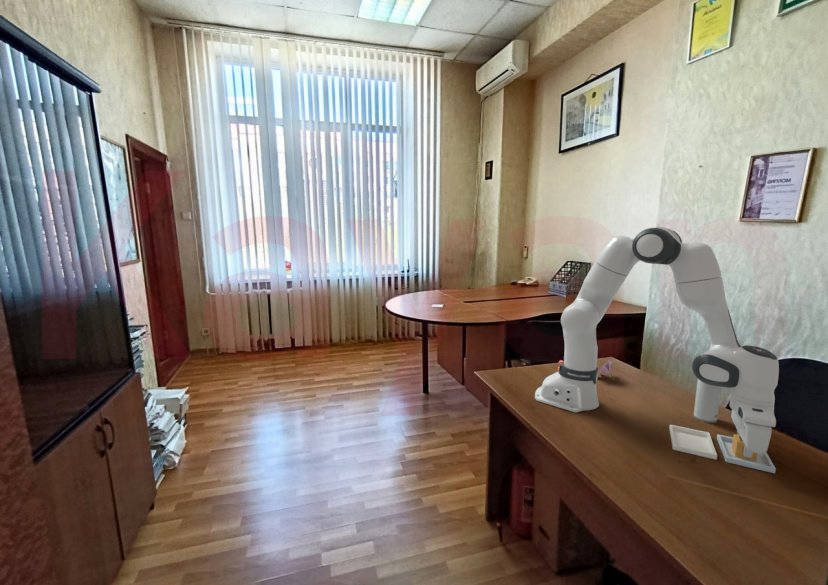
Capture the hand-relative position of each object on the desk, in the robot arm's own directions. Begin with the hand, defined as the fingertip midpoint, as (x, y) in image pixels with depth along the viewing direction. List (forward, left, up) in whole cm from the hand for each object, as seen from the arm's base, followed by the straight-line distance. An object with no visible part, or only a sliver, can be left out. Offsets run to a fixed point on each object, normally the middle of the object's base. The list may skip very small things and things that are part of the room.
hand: (744, 450), depth 104 cm
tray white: (-12, 0, -2) cm, 12 cm away
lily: (-38, +42, -2) cm, 56 cm away
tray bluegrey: (0, 0, -2) cm, 2 cm away
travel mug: (-6, +19, -2) cm, 20 cm away
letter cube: (0, 0, -1) cm, 1 cm away
